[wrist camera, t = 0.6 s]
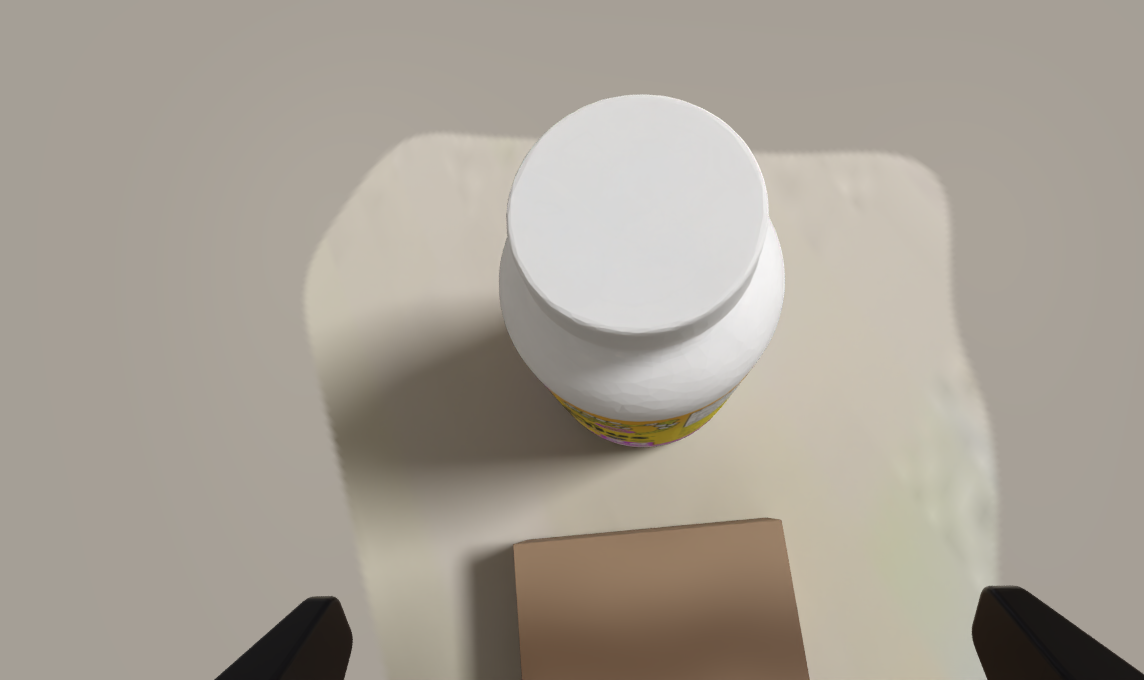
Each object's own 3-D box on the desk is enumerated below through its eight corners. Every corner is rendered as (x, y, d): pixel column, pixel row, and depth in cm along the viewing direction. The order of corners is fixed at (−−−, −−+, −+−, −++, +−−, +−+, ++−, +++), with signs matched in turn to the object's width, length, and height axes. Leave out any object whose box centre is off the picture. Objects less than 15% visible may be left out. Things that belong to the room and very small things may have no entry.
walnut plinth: (814, 799, 19) (838, 842, 17) (547, 811, 20) (533, 855, 17) (766, 517, 21) (781, 519, 19) (528, 539, 22) (513, 544, 20)
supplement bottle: (520, 362, 24) (377, 213, 11) (640, 245, 24) (629, -16, 12) (644, 490, 22) (635, 476, 10) (771, 361, 23) (915, 192, 10)
